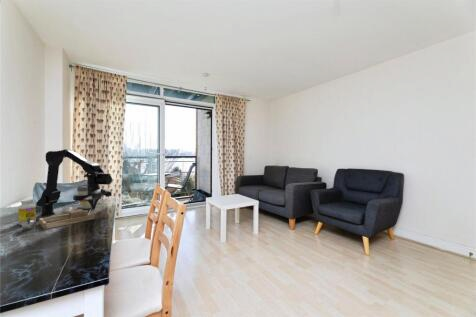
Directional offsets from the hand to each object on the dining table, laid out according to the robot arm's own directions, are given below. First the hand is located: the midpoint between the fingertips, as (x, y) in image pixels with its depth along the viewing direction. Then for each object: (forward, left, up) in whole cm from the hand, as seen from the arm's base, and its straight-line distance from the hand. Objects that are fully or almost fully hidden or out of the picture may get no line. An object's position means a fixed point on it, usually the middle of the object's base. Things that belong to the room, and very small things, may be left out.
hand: (93, 209), depth 128 cm
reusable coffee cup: (-26, +5, -4) cm, 27 cm away
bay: (0, -12, -4) cm, 13 cm away
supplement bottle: (-12, -27, -4) cm, 30 cm away
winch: (0, -28, -4) cm, 29 cm away
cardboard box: (0, -8, -4) cm, 9 cm away
